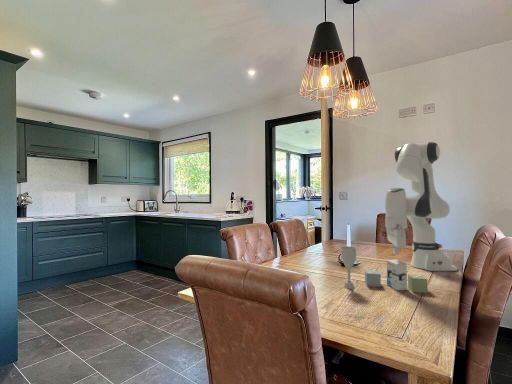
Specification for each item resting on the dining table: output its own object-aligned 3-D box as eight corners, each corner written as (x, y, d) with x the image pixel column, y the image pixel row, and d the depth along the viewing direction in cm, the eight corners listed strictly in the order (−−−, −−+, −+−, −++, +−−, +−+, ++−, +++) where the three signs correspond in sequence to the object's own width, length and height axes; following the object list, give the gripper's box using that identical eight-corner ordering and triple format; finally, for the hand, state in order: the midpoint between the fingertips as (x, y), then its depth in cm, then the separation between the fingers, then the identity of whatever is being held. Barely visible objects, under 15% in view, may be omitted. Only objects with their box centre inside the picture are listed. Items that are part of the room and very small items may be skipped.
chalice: (357, 285, 134) (357, 246, 134) (357, 290, 128) (357, 249, 128) (341, 283, 137) (340, 246, 137) (340, 288, 130) (340, 248, 130)
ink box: (386, 284, 135) (386, 259, 135) (396, 284, 136) (396, 259, 136) (396, 290, 127) (396, 264, 127) (407, 290, 127) (407, 263, 127)
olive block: (422, 288, 129) (422, 274, 129) (427, 293, 124) (427, 278, 124) (408, 287, 131) (407, 274, 131) (411, 292, 125) (411, 277, 125)
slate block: (378, 283, 138) (378, 270, 138) (380, 287, 132) (380, 273, 132) (364, 282, 139) (364, 269, 139) (366, 286, 133) (366, 273, 133)
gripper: (410, 226, 120) (410, 259, 120) (398, 221, 140) (398, 250, 140) (393, 226, 122) (393, 258, 122) (384, 221, 142) (384, 249, 142)
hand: (396, 254), depth 131 cm, fingers closed
